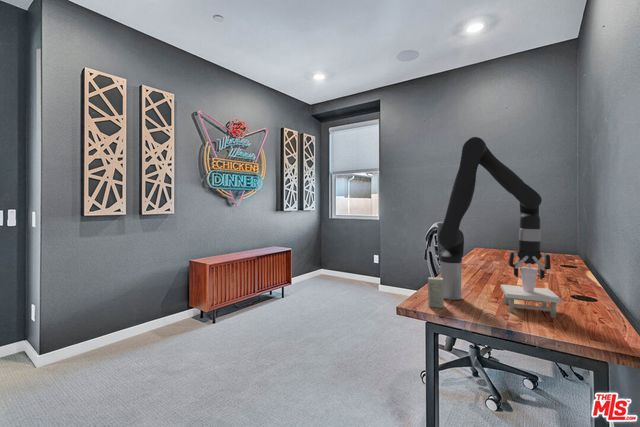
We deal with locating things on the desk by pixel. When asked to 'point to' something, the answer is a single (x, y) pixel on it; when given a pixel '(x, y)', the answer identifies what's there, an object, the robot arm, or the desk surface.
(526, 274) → the smoothie
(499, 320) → the desk surface
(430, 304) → the skincare box
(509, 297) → the footstool
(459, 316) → the desk surface
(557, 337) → the desk surface
